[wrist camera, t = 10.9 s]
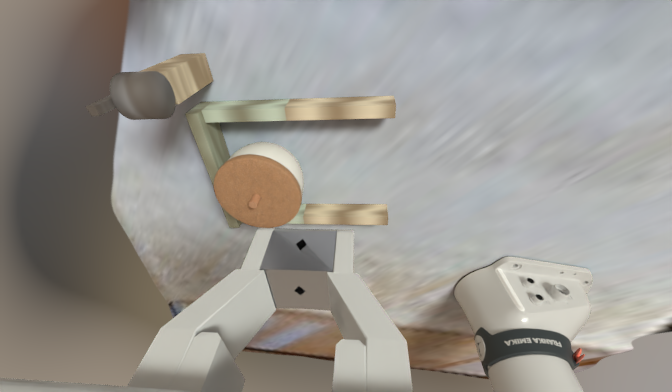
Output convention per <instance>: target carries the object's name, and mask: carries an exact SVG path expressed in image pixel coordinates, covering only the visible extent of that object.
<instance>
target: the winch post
mask: <svg viewBox="0 0 672 392" xmlns="http://www.w3.org/2000/svg"><path fill="white" fill-rule="evenodd" d="M212 81H213V78H212V75H211V71H210V68H209V65H208V62H207V58H206V55H205V53H201V54H181V55H178V56H175V57H173V58H171V59H168V60H166V61H163V62H161V63H159V64H156V65H154V66H152V67H149V68H147V69H144V70H142V71H140V72H122V73H117V74H116V75H114V76H113V78H112V80H111V82H110V96H107V97H105V98H103V99H101V100H99V101H97V102H95V103H92V104H90V105H88V106H86V108H87V110H88V111H89V113H90V114H91V116H101V115H103V114H105V113H107V112H109V111H111V110H113V109H115V108H117V110H118V111H119V112H120V113H121V114H122V115H123V116H125V117H127V118H129V119H133V120H137V119H167V118H169V117H171V116H172V114H173V113H174V110H175V104H180V103H181V102H183V101H184V100H186V99H187V98H189V97H190V96H192V95H193V94H195V93H196V92H198V91H199V90H201V89H202V88H203V87H205V86H206V85H208V84H209V83H211V82H212Z"/></svg>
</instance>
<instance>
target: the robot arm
mask: <svg viewBox="0 0 672 392" xmlns="http://www.w3.org/2000/svg"><path fill="white" fill-rule="evenodd" d="M592 282H593V277H592V274H591V272H590V270H589V269H586V268H581V267H575V266H568V265H562V264H555V263H549V262H542V261H536V260H530V259H523V258H517V257H504V258H502V259H500V260H499V261H497V262H495V263H494V264H492V265H491V266H488V267H486V268H483V269H480V270H477V271H475V272H472V273H470V274H469V275H467V276H466V277H464V278H463V279H462V280H461V281H460V282H459V283H458V284H457V286H456V288H455V291H454V295H455V298H456V300H457V301H458V303H459V304H460V306H461V308H462V309H463V311H464V313H465V315H466V317H467V319H468V321H469V323H470V326H471V328H472V330H473V332H474V335H475V344H476V348H477V352H478V355H479V358H480V360H481V363H482V366H483V369H484V372H485V374H486V376H487V377H488V378H489V379H490V381H491V385H492V388H493V392H584V391H583V389H582V387H581V385H580V383H579V381H578V380H577V378H576V376H575V374H574V372H573V370H574V369H575V368H576V367H578V366H579V361H580V360H581V359H582V358H583V357H584V356H585V354H583V355H581V356H580V354H581V351H582V349H581V348H579V349H578V350H577V351H576V352H575V353H573V351H572V350H571V341H572V340H573V339H574V338H575V337H576V335H577V334H578V333H579V331H580V330H581V329H582V328H583V326H584V325H585V324H586V322H587V321H588V319H589V317H590V314H591V306H590V302H589V299H588V297H587V295H586V294H587V293H588V291H589V290H590V288H591V285H592ZM276 308H302V309H303V308H304V309H317V310H331V313H332V315H333V317H334V319H335V321H336V323H337V325H338V327H339V329H340V332H341V334H342V336H343V338H344V339H341V340H340V341H339V342H338V343H337V344H336V352H335V364H334V376H333V388H332V392H413V388H412V380H411V372H410V363H409V355H408V347H407V341H406V340H405V338H404V337H403V336H402V334H401V333H400V331H399V330H398V329H397V327H396V326H395V324H394V323H393V322H392V320H391V319H390V317H389V316H388V315H387V313H386V312H385V310H384V309H383V308H382V306H381V305H380V303H379V302H378V301H377V299H376V298H375V296H374V295H373V294H372V292H371V291H370V289H369V288H368V287H367V285H366V284H365V282H364V281H363V280H362V278H361V277H360V275H359V274H358V273H354V230H340V229H338V230H333V229H285V228H259V229H258V230H257V231H256V233H255V235H254V238H253V240H252V242H251V245H250V247H249V249H248V252H247V254H246V257H245V259H244V261H243V264H242V266H241V268H240V269H235V270H234V271H232V272H231V273H230V274H229V275H227V276H226V277H225V278H224V279H222V280H221V281H220V282H219V283H217V284H216V285H215V286H213V287H212V288H211V289H210V290H208V291H207V292H206V293H205V294H203V295H202V296H201V297H200V298H198V299H197V300H196V301H194V302H193V303H192V304H191V305H189V306H188V307H187V308H186V309H184V310H183V311H182V312H181V313H179V314H178V315H177V316H176V317H174V318H173V319H172V320H170V321H169V322H168V323H167V324H165V325H164V326H163V327H162V328H161V329H160V330H159V333H158V334H157V336H156V337H155V339H154V341H153V342H152V344H151V346H150V348H149V349H148V351H147V353H146V355H145V357H144V358H143V360H142V362H141V364H140V365H139V367H138V369H137V370H136V372H135V374H134V375H133V377H132V379H131V381H130V382H129V384H128V386H127V387H125V386H110V385H96V384H82V383H68V382H53V381H39V380H25V379H10V378H0V392H242V390H243V386H244V383H245V378H244V376H243V374H242V373H241V371H240V369H239V368H238V366H237V364H236V363H235V361H234V360H235V358H236V357H237V356H238V354H240V352H241V351H242V350H243V349H244V348H245V346H246V345H247V344H248V343H249V342H250V340H251V339H252V338H253V337H254V336H255V334H256V333H257V332H258V331H259V330H260V328H261V327H262V326H263V325H264V324H265V322H266V321H267V320H268V319H269V318H270V316H271V315H272V314H273V313H274V312H275V310H276Z"/></svg>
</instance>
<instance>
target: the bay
mask: <svg viewBox="0 0 672 392" xmlns="http://www.w3.org/2000/svg"><path fill="white" fill-rule="evenodd" d="M395 111H396V103H395V99H394V96H373V97H342V98H311V99H280V100H249V101H218V102H200V103H199V104H198V105H196V106H195V107H194V108H192V109H191V110H190V111H188V112H187V113H186V114H185V115H186V118H187V120H188V123H189V125H190V128H191V130H192V133H193V136H194V138H195V141H196V143H197V146H198V148H199V151H200V153H201V156H202V158H203V161H204V163H205V166H206V169H207V171H208V174H209V176H210V179H211V181H212V184H213V186H214V178H215V175H216V173H217V171H218V170H219V168H220V167H221V166H222V165H223V164H224V163H225V162H226V161H227V160H228V159H229V158H230V155H229V152H228V149H227V146H226V143H225V139H224V136H223V133H222V130H221V127H220V124H219V122H253V121H294V120H334V119H375V118H395ZM221 207H222V206H221ZM222 209H223V212H224V214H225V217H226V219H227V222H228V224H229V227H231V228H239V227H240V225H241V223H243V222H241V221H239V220H237V219H235V218H234V217H233V216H231V215H230V214H229V213H228V212H226V210H225V209H224V208H223V207H222ZM286 224H346V225H388V212H387V204H301V206H300V209H299V211H298V213H297V215H296V216H295V217H294V218H293V219H292V220H291V221H290V222H288V223H286Z"/></svg>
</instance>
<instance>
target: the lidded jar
mask: <svg viewBox="0 0 672 392" xmlns="http://www.w3.org/2000/svg"><path fill="white" fill-rule="evenodd" d="M303 188H304V179H303V172H302V169H301V167H300V164H299V162H298V161H297V159H296V158H295V157H294V156H293V154H291V153H290V152H289V151H288V150H287V149H285V148H284V147H282V146H279V145H277V144H274V143H269V142H256V143H252V144H248V145H246V146H244V147H242V148H241V149H239V150H238V151H236V152H235V153H234V154H233V155H232V156H231V157H230V158H229V159H228V160H227V161H226V162H225V163H224V164H223V165H222V166H221V167H220V168H219V170H218V171H217V173H216V175H215V178H214V191H215V195H216V197H217V199H218V201H219V203H220V204H221V206H222V207H223V208H224V209H225V210H226V212H228V213H229V214H230V215H231V216H233V217H234V218H235V219H237V220H239V221H241V222H243V223H245V224H248V225H251V226H255V227H260V228H273V227H278V226H281V225H284V224H286V223H288V222H290V221H291V220H292V219H293V218H294V217H295V216H296V215H297V213H298V211H299V209H300V206H301V201H302V195H303Z"/></svg>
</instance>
